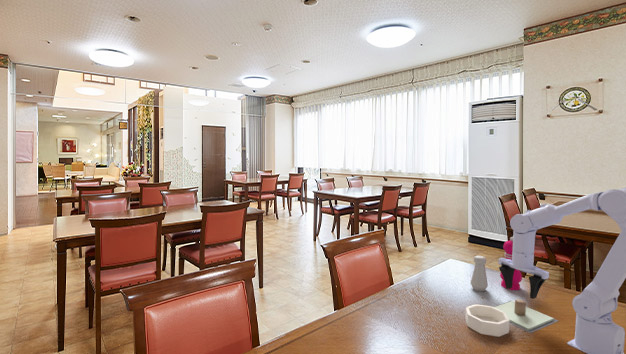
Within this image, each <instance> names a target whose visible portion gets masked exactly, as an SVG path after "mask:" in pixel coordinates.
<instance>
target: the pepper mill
mask: <svg viewBox="0 0 626 354" xmlns="http://www.w3.org/2000/svg"><path fill="white" fill-rule="evenodd" d="M502 247H503V251H504V255H503V256H504V258H505V259H510V260H512V252H513V236H511V237H510V238H509V240H506V241H505V242H504V243H503V246H502ZM499 276H500V278H501V279H502V280H501V282H500V284H501V288H505V289H506V285H505V281H504V278H503V275H502V273H501V272H500V273H499ZM522 280H523V275H522V271H520V270H517V269H515V271H514V275H513V285H512V288H510V289H509V290H510V291H511V290H512V291H519V290H520V289H521V284H520V283H521V282H522Z"/></svg>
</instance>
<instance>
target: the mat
mask: <svg viewBox="0 0 626 354" xmlns="http://www.w3.org/2000/svg"><path fill="white" fill-rule="evenodd" d="M511 301H512V300H509V301H506V302H504V303H500V304H498V305H494V306H493V307H496V306H499V305H502V304H505V303H508V302H511ZM557 322H559V320H558V319H556V318H554V320H553V321H550V322H548V323H545V324H543V325H541V326H538V327H536V328H534V329H531V330H527V329H525V328H522V327H520V326H518V325H516V324H514V323H512V322H510V321H509V325H512V326H514V327H517V328H518V329H521V330H522V331H525V332H527V333H529V334H532V333H535V332H536V331H540V330H541V329H544V328H546V327H549V326H551V325H553V324H555V323H557Z"/></svg>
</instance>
